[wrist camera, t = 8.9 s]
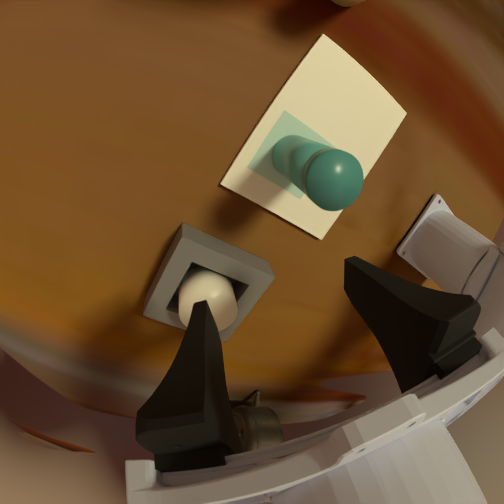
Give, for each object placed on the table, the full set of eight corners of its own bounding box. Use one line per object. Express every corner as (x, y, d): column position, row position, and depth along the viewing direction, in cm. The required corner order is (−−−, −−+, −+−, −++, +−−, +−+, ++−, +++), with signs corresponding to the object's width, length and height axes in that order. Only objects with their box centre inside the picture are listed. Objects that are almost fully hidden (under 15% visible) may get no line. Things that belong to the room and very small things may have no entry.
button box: (267, 261, 24) (275, 277, 22) (222, 324, 27) (225, 341, 25) (182, 222, 21) (182, 236, 19) (145, 297, 24) (142, 315, 21)
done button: (241, 277, 23) (248, 301, 21) (216, 314, 25) (220, 339, 22) (193, 257, 21) (194, 280, 19) (170, 298, 23) (169, 323, 20)
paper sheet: (404, 113, 20) (407, 113, 19) (319, 238, 24) (321, 240, 24) (321, 34, 15) (323, 33, 15) (220, 183, 20) (220, 184, 20)
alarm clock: (239, 421, 39) (261, 510, 25) (207, 419, 37) (225, 514, 23) (271, 386, 35) (307, 493, 21) (235, 383, 33) (264, 501, 19)
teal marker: (321, 149, 20) (373, 172, 14) (298, 184, 21) (341, 221, 15) (286, 125, 18) (330, 138, 12) (262, 163, 20) (295, 193, 14)
